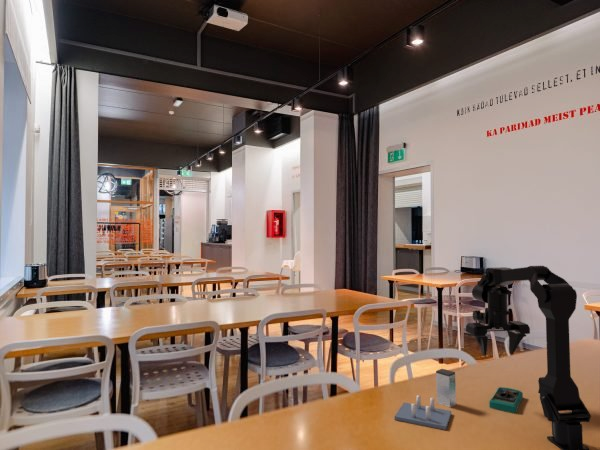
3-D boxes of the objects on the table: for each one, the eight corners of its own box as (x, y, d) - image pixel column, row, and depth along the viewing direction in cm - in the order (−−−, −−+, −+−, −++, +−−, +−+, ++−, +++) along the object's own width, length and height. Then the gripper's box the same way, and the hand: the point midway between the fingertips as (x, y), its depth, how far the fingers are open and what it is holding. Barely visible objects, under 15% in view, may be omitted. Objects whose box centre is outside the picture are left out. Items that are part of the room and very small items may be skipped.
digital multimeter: (523, 399, 128) (522, 389, 128) (515, 415, 116) (515, 405, 117) (498, 394, 133) (498, 385, 133) (488, 409, 121) (488, 399, 121)
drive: (456, 404, 124) (455, 372, 124) (450, 407, 121) (449, 374, 122) (443, 400, 127) (442, 368, 127) (436, 403, 125) (436, 370, 125)
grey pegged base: (451, 414, 117) (451, 398, 117) (445, 430, 107) (445, 413, 107) (403, 405, 123) (403, 390, 123) (394, 419, 114) (394, 403, 114)
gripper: (508, 300, 136) (509, 345, 136) (457, 302, 134) (457, 348, 134) (531, 307, 125) (531, 356, 125) (475, 309, 123) (475, 359, 123)
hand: (497, 354), depth 127 cm, fingers open, 9 cm apart
